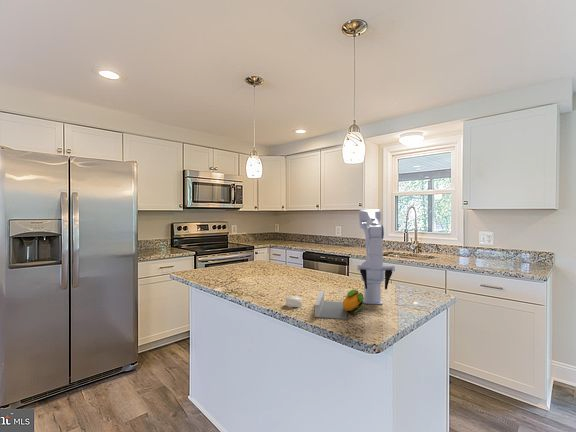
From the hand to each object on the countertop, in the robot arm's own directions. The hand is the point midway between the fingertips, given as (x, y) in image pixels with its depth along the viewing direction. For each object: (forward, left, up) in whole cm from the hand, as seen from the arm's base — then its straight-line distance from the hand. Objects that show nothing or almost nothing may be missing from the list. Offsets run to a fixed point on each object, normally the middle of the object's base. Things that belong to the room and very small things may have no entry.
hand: (376, 288), depth 122 cm
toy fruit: (0, -10, -10) cm, 13 cm away
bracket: (0, -18, -10) cm, 20 cm away
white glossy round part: (-3, -35, -10) cm, 36 cm away
